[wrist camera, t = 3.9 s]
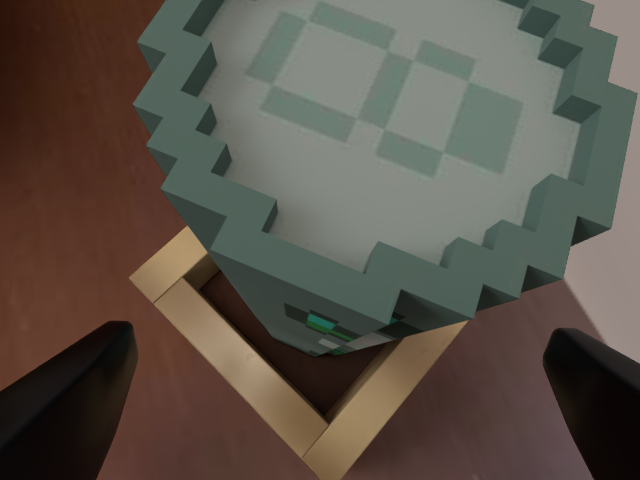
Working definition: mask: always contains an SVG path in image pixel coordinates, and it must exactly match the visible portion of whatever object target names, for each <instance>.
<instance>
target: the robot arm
mask: <svg viewBox="0 0 640 480" xmlns="http://www.w3.org/2000/svg"><path fill="white" fill-rule="evenodd" d="M137 360H138V349H137V344H136V339H135V335H134V330H133V326H132V324H131V323H130V322H129V321H108V322H107V323H105V324H103V325H102V326H100V327H99V328H97V329H96V330H94V331H93V332H91V333H89V334H88V335H86V336H85V337H83V338H82V339H80V340H79V341H77V342H76V343H74V344H73V345H71V346H69V347H68V348H66V349H65V350H63V351H62V352H60V353H59V354H57V355H56V356H54V357H53V358H51V359H50V360H48V361H46V362H45V363H43V364H42V365H40V366H39V367H37V368H36V369H34V370H33V371H31V372H30V373H28V374H26V375H25V376H23V377H22V378H20V379H19V380H17V381H16V382H14V383H13V384H11V385H10V386H8V387H6V388H5V389H3V390H2V391H0V480H96V479H97V476H98V474H99V472H100V469H101V467H102V465H103V462H104V460H105V458H106V455H107V453H108V451H109V448H110V446H111V443H112V441H113V438H114V436H115V433H116V430H117V427H118V424H119V421H120V418H121V415H122V411H123V408H124V405H125V401H126V398H127V395H128V391H129V388H130V385H131V381H132V378H133V375H134V371H135V368H136V365H137ZM543 367H544V370H545V372H546V375H547V377H548V380H549V382H550V385H551V387H552V390H553V392H554V395H555V397H556V400H557V402H558V405H559V407H560V409H561V412H562V414H563V417H564V419H565V422H566V424H567V427H568V429H569V431H570V433H571V436H572V438H573V440H574V442H575V444H576V446H577V448H578V450H579V451H580V453H581V455H582V457H583V459H584V461H585V463H586V465H587V467H588V469H589V471H590V473H591V475H592V477H593V478H594V480H640V364H639V363H637V362H635V361H634V360H632V359H630V358H629V357H627V356H625V355H623V354H621V353H620V352H618V351H616V350H614V349H612V348H610V347H609V346H607V345H605V344H603V343H602V342H600V341H598V340H596V339H594V338H593V337H591V336H589V335H587V334H585V333H584V332H582V331H580V330H578V329H575V328H558V329H555V330H554V331H553V333H552V335H551V337H550V340H549V342H548V345H547V347H546V350H545V352H544V355H543Z"/></svg>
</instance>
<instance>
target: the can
mask: <svg viewBox="0 0 640 480" xmlns="http://www.w3.org/2000/svg"><path fill="white" fill-rule="evenodd" d="M593 9H594V5H592V4H589V3H587V2H584V1H581V0H166V1H165V2H164V4H163V5H162V7H161V8H160V10H159V11H158V12H157V14H156V15H155V17H154V18H153V19H152V21H151V22H150V24H149V25H148V27H147V28H146V29H145V31H144V32H143V34H142V35H141V37H140V38H139V39H138V41H137V43H138V45H139V48H140V50H141V52H142V54H143V56H144V58H145V60H146V62H147V64H148V66H149V68H150V70H151V72H152V76H151V77H150V79H149V80H148V82H147V83H146V85H145V86H144V88H143V89H142V91H141V92H140V94H139V95H138V97H137V98H136V100H135V101H134V103H133V104H132V105H133V107H134V108H135V110H136V112H137V113H138V115H139V117H140V118H141V120H142V122H143V123H144V125H145V126H146V128H147V130H148V131H149V133H150V135H151V138H150V140H149V141H148V143H147V144H146V147H147V148H148V150H149V151H150V153H151V154H152V156H153V157H154V159H155V160H156V162H157V163H158V165H159V166H160V168H161V169H162V171H163V172H164V174H165V175H166V177H167V178H166V180H165V181H164V183H163V185H162V187H161V188H160V189H161V191H162V192H163V193H164V195H165V196H166V197H167V199H168V200H169V201H170V203H171V204H172V205H173V207H174V208H175V209H176V211H177V212H178V213H179V215H180V216H181V217H182V219H183V220H184V221H185V223H186V224H187V225H188V227H189V228H190V229H191V231H192V232H193V233H194V235H195V236H196V237H197V239H198V240H199V241H200V243H201V244H202V245H203V247H204V248H205V250H206V251H207V252H208V254H209V255H210V256H211V258H212V259H213V260H214V262H215V263H216V264H217V266H218V267H219V268H220V270H221V271H222V272H223V274H224V275H225V276H226V278H227V279H228V280H229V282H230V283H231V284H232V286H233V287H234V288H235V290H236V291H237V292H238V294H239V295H240V296H241V298H242V299H243V300H244V302H245V303H246V304H247V306H248V307H249V308H250V310H251V311H252V312H253V314H254V315H255V317H256V318H257V319H258V321H259V322H260V323H261V324H262V325H264V326H265V328H266V329H267V331H268V332H269V334H270V335H271V336H272V338H273V339H274V340H276V341H278V342H280V343H283V344H285V345H287V346H290V347H292V348H294V349H297V350H299V351H301V352H304V353H306V354H308V355H310V356H313V357H317V356H319V355H321V354H324V353H326V352H327V353H329V354H331V355H334V356H336V355H340V354H344V353H348V352H351V351H355V350H359V349H363V348H366V347H370V346H374V345H378V344H381V343H385V342H389V341H393V340H396V339H400V338H404V337H407V336H411V335H415V334H419V333H422V332H426V331H430V330H434V329H437V328H441V327H445V326H449V325H452V324H456V323H460V322H464V321H467V320H471V319H473V318H474V315H475V312H476V311H480V310H483V309H486V308H489V307H493V306H496V305H499V304H503V303H506V302H509V301H513V300H516V299H519V297H520V293H522V292H525V291H528V290H531V289H534V288H537V287H540V286H543V285H546V284H549V283H552V282H555V281H558V280H561V279H563V277H564V273H565V268H566V264H567V259H568V255H569V250H570V247H571V246H573V245H575V244H577V243H580V242H582V241H584V240H587V239H588V238H591V237H593V236H596V235H598V234H600V233H603V232H605V231H607V230H610V229H611V227H612V222H613V217H614V211H615V206H616V202H617V196H618V191H619V186H620V181H621V176H622V171H623V166H624V161H625V156H626V150H627V145H628V140H629V135H630V130H631V124H632V119H633V114H634V109H635V104H636V99H637V94H638V93H635V92H633V91H630V90H628V89H625V88H622V87H619V86H617V85H614V84H612V83H609V82H608V78H609V73H610V68H611V64H612V60H613V55H614V51H615V47H616V42H617V38H618V37H617V36H615V35H612V34H609V33H606V32H604V31H601V30H598V29H596V28H593V27H590V26H589V25H590V21H591V17H592V13H593Z"/></svg>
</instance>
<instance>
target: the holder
mask: <svg viewBox="0 0 640 480" xmlns="http://www.w3.org/2000/svg"><path fill="white" fill-rule="evenodd" d="M219 270H220V268H219V267H218V266H217V264H216V263H215V262H214V260H213V259H212V258H211V256H210V255H209V254H208V252H207V251H206V250H205V248H204V247H203V245H202V244H201V243H200V241H199V240H198V239H197V237H196V236H195V235H194V233H193V232H192V231H191V229H190V228H189V227H188V226H186V227H185V228H184V229H183V230H182V231H181V232H180V233H178V234H177V235H176V236H175V237H174V238H173V239H172V240H171V241H169V242H168V243H167V244H166V245H165V246H164V247H163V248H161V249H160V250H159V251H158V252H157V253H156V254H155V255H154V256H152V257H151V258H150V259H149V260H148V261H147V262H146V263H144V264H143V265H142V266H141V267H140V268H139V269H138V270H136V271H135V272H134V273H133V274H132V275H131V276H130V277H129V279H130V280H131V282H132V283H133V284H134V285H135V286H136V287H137V288H138V289H139V290H140V291H141V292H142V293H143V294H144V295H145V296H146V297H147V298H148V299H149V300H150V301H151V302H152V303H153V304H154V306H155V307H156V308H157V309H158V310H159V311H160V312H161V313H162V314H163V315H164V316H165V317H166V318H167V319H168V320H169V321H170V322H171V323H172V324H173V325H174V326H175V328H176V329H177V330H178V331H179V332H180V333H181V334H182V335H183V336H184V337H185V338H186V339H187V340H188V341H189V342H190V343H191V344H192V345H193V346H194V347H195V348H196V349H197V350H198V352H199V353H200V354H201V355H202V356H203V357H204V358H205V359H206V360H207V361H208V362H209V363H210V364H211V365H212V366H213V367H214V368H215V369H216V370H217V371H218V372H219V373H220V374H221V376H222V377H223V378H224V379H225V380H226V381H227V382H228V383H229V384H230V385H231V386H232V387H233V388H234V389H235V390H236V391H237V392H238V393H239V394H240V395H241V396H242V397H243V399H244V400H245V401H246V402H247V403H248V404H249V405H250V406H251V407H252V408H253V409H254V410H255V411H256V412H257V413H258V414H259V415H260V416H261V417H262V418H263V419H264V420H265V421H266V423H267V424H268V425H269V426H270V427H271V428H272V429H273V430H274V431H275V432H276V433H277V434H278V435H279V436H280V437H281V438H282V439H283V440H284V441H285V442H286V443H287V444H288V445H289V447H290V448H291V449H292V450H293V451H294V452H295V453H296V454H297V455H298V456H299V457H300V458H302V460H303V461H304V462H305V463H306V464H307V465H308V466H309V467H310V468H311V470H312V471H313V472H314V473H315V474H316V475H317V476H318V477H319V478H320V479H321V480H341V479H342V477H343V476H344V475H345V474H346V472H347V471H348V470H349V469H350V468H351V466H352V465H353V464H354V463H355V461H356V460H357V459H358V458H359V456H360V455H361V454H362V453H363V451H364V450H365V449H366V448H367V446H368V445H369V444H370V443H371V441H372V440H373V439H374V438H375V436H376V435H377V434H378V433H379V431H380V430H381V429H382V428H383V426H384V425H385V424H386V423H387V421H388V420H389V419H390V418H391V416H392V415H393V414H394V413H395V411H396V410H397V409H398V408H399V406H400V405H401V404H402V403H403V402H404V400H405V399H406V398H407V397H408V395H409V394H410V393H411V392H412V390H413V389H414V388H415V387H416V385H417V384H418V383H419V382H420V380H421V379H422V378H423V377H424V375H425V374H426V373H427V372H428V370H429V369H430V368H431V367H432V365H433V364H434V363H435V362H436V360H437V359H438V358H439V357H440V355H441V354H442V353H443V352H444V350H445V349H446V348H447V347H448V345H449V344H450V343H451V342H452V340H453V339H454V338H455V337H456V335H457V334H458V333H459V332H460V331H461V329H462V328H463V327H464V326H465V324H466V323H467V322H468V321H469V320H467V321H464V322H460V323H456V324H452V325H449V326H445V327H441V328H437V329H434V330H430V331H426V332H422V333H419V334H415V335H411V336H407V337H404V338H400V339H396V340H393V341H389V342H387V343H386V344H385V346H384V347H383V348H382V349H381V350H380V351H379V353H378V354H377V355H376V356H375V357H374V358H373V360H372V361H371V362H370V363H369V364H368V365H367V367H366V368H365V369H364V370H363V371H362V372H361V374H360V375H359V376H358V377H357V378H356V379H355V381H354V382H353V383H352V384H351V385H350V386H349V388H348V389H347V390H346V391H345V392H344V393H343V395H342V396H341V397H340V398H339V399H338V400H337V402H336V403H335V404H334V405H333V406H332V407H331V409H330V410H329V411H328V412H327V413H326V414H325V416H323V415H322V414H321V413H320V412H319V411H318V410H317V409H316V408H315V407H314V406H313V405H312V404H311V403H310V402H309V401H308V400H307V399H306V398H305V397H304V396H303V395H302V394H301V393H300V392H299V391H298V389H297V388H296V387H295V386H294V385H293V384H292V383H291V382H290V381H289V380H288V379H287V378H286V377H285V376H284V375H283V374H282V373H281V372H280V371H279V370H278V369H277V368H276V367H275V366H274V365H273V364H272V363H271V362H270V361H269V360H268V359H267V358H266V357H265V356H264V355H263V354H262V353H261V352H260V351H259V350H258V349H257V348H256V347H255V346H254V345H253V344H252V343H251V342H250V341H249V340H248V339H247V338H246V337H245V336H244V335H243V334H242V333H241V332H240V331H239V330H238V329H237V328H236V327H235V326H234V325H233V324H232V323H231V322H230V321H229V320H228V319H227V318H226V317H225V316H224V315H223V314H222V313H221V312H220V311H219V310H218V309H217V308H216V307H215V306H214V305H213V304H212V303H211V302H210V301H209V300H208V299H207V298H206V297H205V296H204V295H203V294H202V293H201V292H200V291H199V289H200V288H201V287H202V286H203V285H204V284H205V283H206V282H207V281H208V280H210V279H211V278H212V277H213V276H214V275H215V274H216V273H217V272H218V271H219Z"/></svg>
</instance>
